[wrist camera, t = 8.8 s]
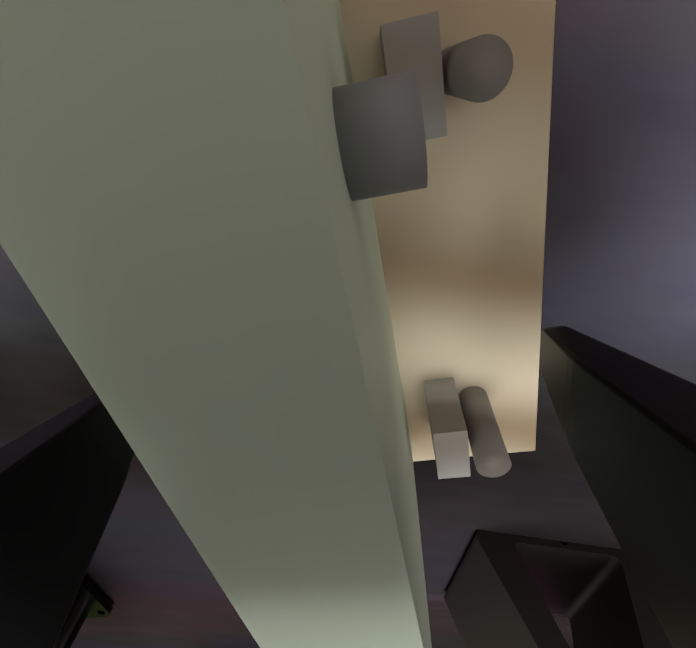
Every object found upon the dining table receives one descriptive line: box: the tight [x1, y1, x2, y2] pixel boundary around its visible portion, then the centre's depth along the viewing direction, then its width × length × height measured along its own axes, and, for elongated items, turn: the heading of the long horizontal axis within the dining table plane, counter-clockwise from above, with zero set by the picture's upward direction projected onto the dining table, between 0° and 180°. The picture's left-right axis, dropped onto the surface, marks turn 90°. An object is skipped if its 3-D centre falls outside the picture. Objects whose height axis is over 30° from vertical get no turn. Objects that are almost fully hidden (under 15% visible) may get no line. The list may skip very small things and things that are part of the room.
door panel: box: [0, 0, 432, 648], centre depth 9 cm, size 14×4×8 cm, turn 11°
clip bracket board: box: [339, 0, 556, 479], centre depth 12 cm, size 16×12×4 cm
